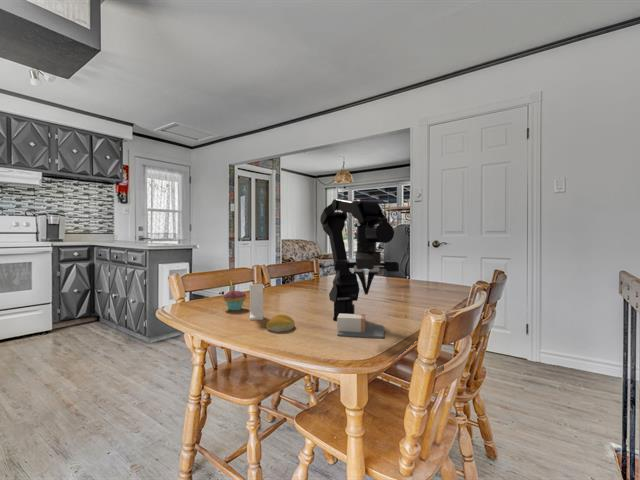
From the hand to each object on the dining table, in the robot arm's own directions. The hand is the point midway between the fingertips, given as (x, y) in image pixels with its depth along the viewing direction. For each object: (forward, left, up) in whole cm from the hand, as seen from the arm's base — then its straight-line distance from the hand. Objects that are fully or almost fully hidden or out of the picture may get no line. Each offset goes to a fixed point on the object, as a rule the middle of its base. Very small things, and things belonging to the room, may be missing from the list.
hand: (366, 294), depth 101 cm
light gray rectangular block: (-38, +10, -11) cm, 41 cm away
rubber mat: (-1, 0, -11) cm, 11 cm away
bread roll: (-26, -1, -12) cm, 29 cm away
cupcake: (-51, +21, -11) cm, 56 cm away
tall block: (0, 0, -9) cm, 9 cm away
